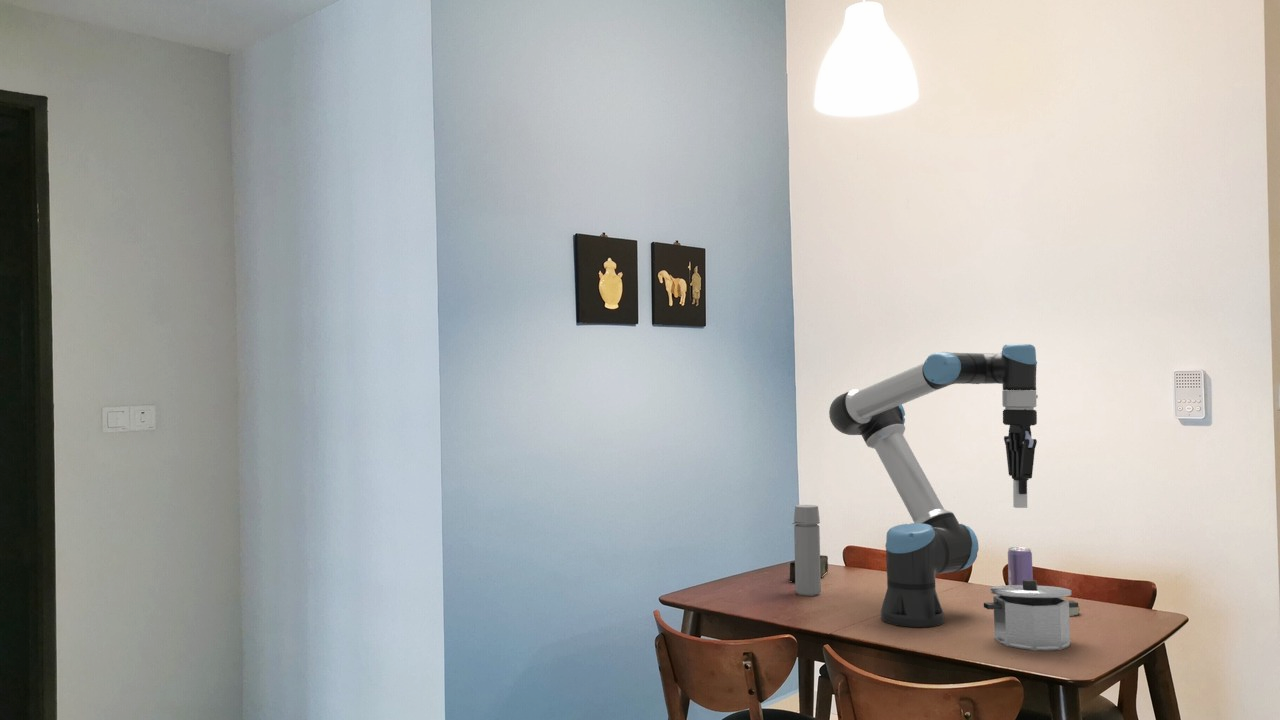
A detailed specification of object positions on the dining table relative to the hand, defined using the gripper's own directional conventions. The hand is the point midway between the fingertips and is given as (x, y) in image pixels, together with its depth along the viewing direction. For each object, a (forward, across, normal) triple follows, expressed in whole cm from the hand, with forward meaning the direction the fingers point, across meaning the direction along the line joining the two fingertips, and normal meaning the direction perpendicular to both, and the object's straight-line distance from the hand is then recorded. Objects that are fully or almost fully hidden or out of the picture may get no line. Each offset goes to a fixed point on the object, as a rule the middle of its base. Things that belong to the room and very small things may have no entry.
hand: (1020, 507), depth 217 cm
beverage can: (+30, +25, -11) cm, 41 cm away
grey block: (+30, +17, -18) cm, 39 cm away
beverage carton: (+32, +67, +37) cm, 83 cm away
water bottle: (+31, +45, +42) cm, 69 cm away
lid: (+19, -10, +2) cm, 21 cm away
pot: (+29, -10, +2) cm, 31 cm away
